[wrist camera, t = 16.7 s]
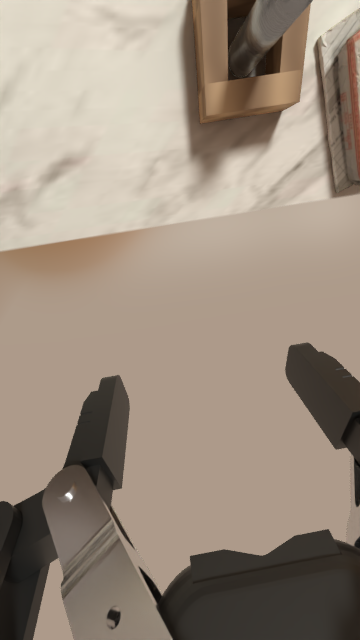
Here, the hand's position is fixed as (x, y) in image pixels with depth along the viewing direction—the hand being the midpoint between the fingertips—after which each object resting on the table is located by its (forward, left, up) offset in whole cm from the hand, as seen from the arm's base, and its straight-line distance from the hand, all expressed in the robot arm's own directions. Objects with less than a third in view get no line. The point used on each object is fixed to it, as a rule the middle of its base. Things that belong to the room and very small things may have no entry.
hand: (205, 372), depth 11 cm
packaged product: (+29, +13, -31) cm, 44 cm away
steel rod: (+12, +19, -30) cm, 38 cm away
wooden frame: (+12, +19, -30) cm, 38 cm away
